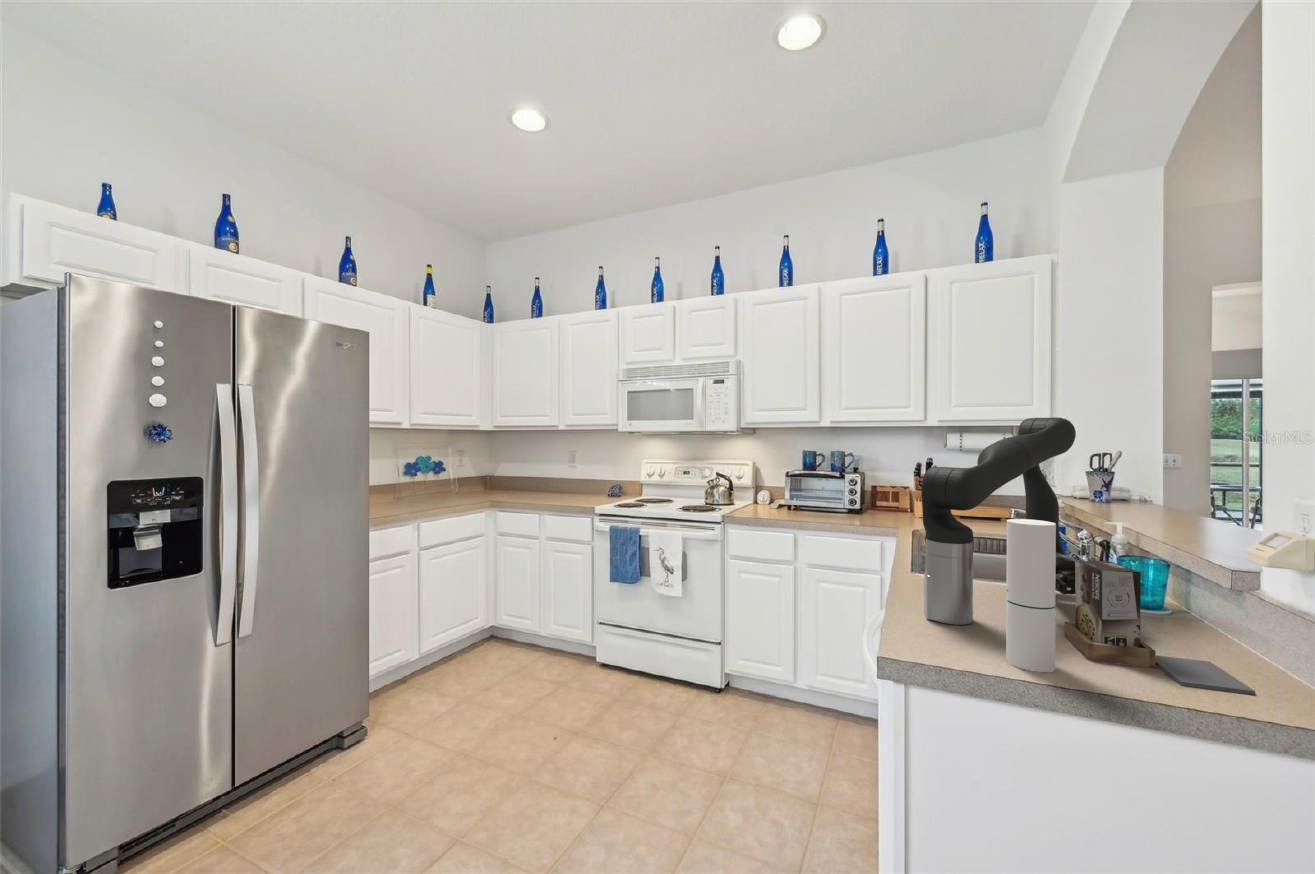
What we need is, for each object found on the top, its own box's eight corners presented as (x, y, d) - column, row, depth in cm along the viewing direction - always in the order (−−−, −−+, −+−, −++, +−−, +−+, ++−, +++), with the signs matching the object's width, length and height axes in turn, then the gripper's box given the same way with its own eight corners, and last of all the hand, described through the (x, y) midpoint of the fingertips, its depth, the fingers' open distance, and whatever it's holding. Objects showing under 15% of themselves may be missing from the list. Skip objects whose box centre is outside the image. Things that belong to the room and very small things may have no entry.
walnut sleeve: (1088, 660, 98) (1088, 643, 98) (1064, 636, 110) (1064, 621, 110) (1155, 668, 95) (1155, 651, 95) (1123, 642, 107) (1123, 627, 107)
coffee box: (1142, 662, 97) (1143, 571, 97) (1101, 659, 99) (1101, 570, 99) (1111, 643, 106) (1111, 560, 106) (1073, 641, 108) (1074, 558, 108)
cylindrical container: (1050, 660, 98) (1050, 520, 98) (1059, 675, 92) (1060, 526, 92) (1003, 653, 101) (1003, 518, 101) (1009, 668, 95) (1010, 523, 95)
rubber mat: (1181, 685, 88) (1181, 681, 88) (1145, 657, 100) (1145, 654, 100) (1255, 695, 85) (1255, 691, 85) (1209, 665, 96) (1209, 661, 96)
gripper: (1026, 554, 128) (1048, 569, 112) (1101, 559, 123) (1134, 576, 107) (1026, 586, 128) (1048, 606, 112) (1101, 592, 123) (1134, 614, 107)
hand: (1090, 591), depth 110 cm, fingers open, 8 cm apart
